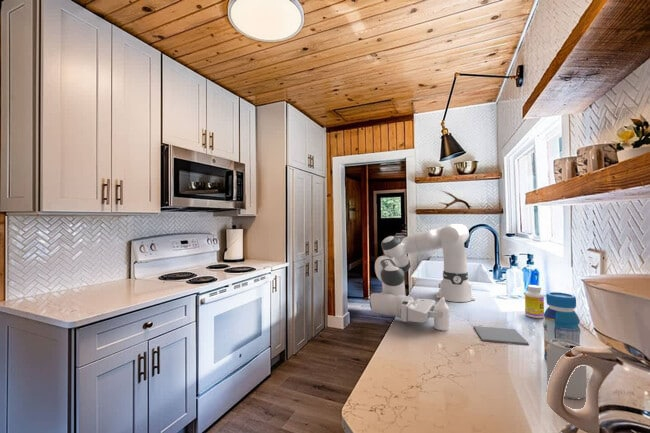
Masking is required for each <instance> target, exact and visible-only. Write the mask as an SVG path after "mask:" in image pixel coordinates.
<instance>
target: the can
mask: <svg viewBox="0 0 650 433" xmlns="http://www.w3.org/2000/svg"><path fill="white" fill-rule="evenodd" d="M576 346H582V344H578V343H576V342H573V341H570V340H565V339H551V340H550V343H549V344H548V345H547V362H546V385H547V384H548V381H549V378H550V375H551V373H552V371H553V369H554V367H555V365H556V363H557V361H558V360H559V359H560V357H561V356H562V355H563V354H565V353H566V352H567V351H569V350H571V349H572V348H573V347H576ZM586 388H587V365H586V366H580V367H578V368H576V369H575V371H574V372H573V374H572V375H571V377H570V379H569V382H568V384H567V388H566V392H565V397H564V399H565V398H566V399H568V398H572V399H571V400H575V399H578V398H581V399H583V398H586V396H587V395H586ZM585 395H586V396H585ZM578 400H579V399H578Z"/></svg>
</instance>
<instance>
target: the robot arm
mask: <svg viewBox="0 0 650 433" xmlns="http://www.w3.org/2000/svg"><path fill="white" fill-rule="evenodd" d="M469 237H470V232H469V230H468V228H467V227H466V226H465V225H464V224H460V223H451V224H446V225H445V226H441V227H436V228H434V229H433V228H432V229H429V230H428V229H427V230H424V231H419V232H417V233H413V234H410V235H408V236H405V237H404V238H402V237H399V236H396V235H389V236H387V237H385V238H384V239H383V240H382V241H381V243H380V244H381V249H382V251H383V253H384V254H383V255H381V256H378V257H377V258H376V260H375V262H374V272H375V275H376V277H377V278H378V281H380V282H381V285H382V291H381V292H375V293H374V292H372V293H371V295H370V296H369V307H370V310H371V312H373V313H375V314H378V315H384V316H387V317H390V316H394V317H397V318H401V321H402V322H405V323H406V322H413V323H426V322H428V320H429V319H430V318H432V319H434V318H436V317H439V318H442V317H443V313H442V312H434V307H435V306H436V304H437V302H436V300H435V299H429V298H428V299H427V298H417V299H414V296H409V295H406V286H405V285H406V284H405V273H406V272H408V271H409V270H410V268H411V266H412V265H411V260H410V259H409V257H408V255H409V254H411V255H412V254H422V253H426V252H431V251H436V250H440V249H442V253H443V254H442V255H443V271H442V278H443V279H442V280H441V281H440V283H438V291H437V294H436V299H439V300H440V299H441V298H442V297H444V298H445V301H449V302H454V303H455V302H456V303H467V302H468V303H469V302H470V301H476V297H475V296H473V294H472V293H473V291H472V283H471V282H470V281H469V272H468V260H467V259H468V258H467V254H466V248H465V243H466V242H468V240H469Z"/></svg>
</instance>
